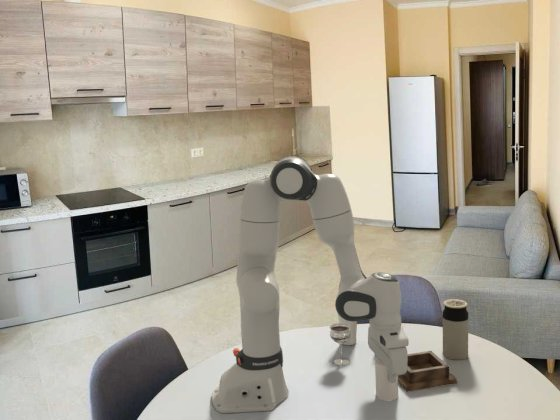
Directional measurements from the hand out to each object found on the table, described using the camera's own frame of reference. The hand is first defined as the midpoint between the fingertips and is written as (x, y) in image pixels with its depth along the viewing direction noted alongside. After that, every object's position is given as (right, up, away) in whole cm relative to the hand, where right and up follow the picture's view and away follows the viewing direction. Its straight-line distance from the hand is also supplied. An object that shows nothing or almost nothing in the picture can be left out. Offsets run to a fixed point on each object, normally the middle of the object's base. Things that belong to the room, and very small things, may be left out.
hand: (386, 375), depth 154 cm
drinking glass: (-6, 0, +37) cm, 38 cm away
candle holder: (+13, -4, +10) cm, 17 cm away
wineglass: (-10, -3, +23) cm, 26 cm away
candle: (0, -6, +1) cm, 6 cm away
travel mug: (+27, -1, +23) cm, 36 cm away
